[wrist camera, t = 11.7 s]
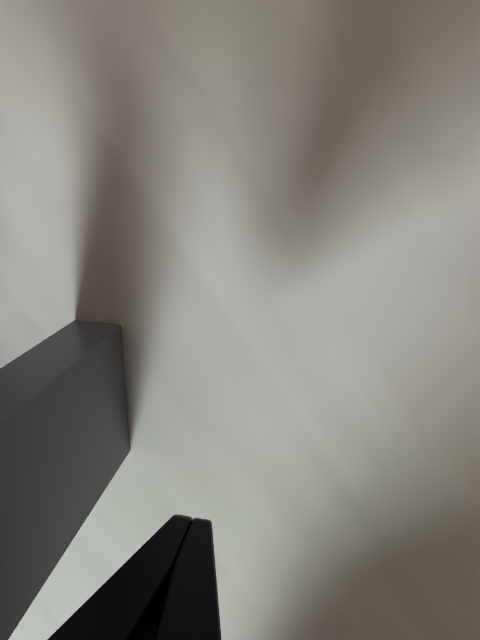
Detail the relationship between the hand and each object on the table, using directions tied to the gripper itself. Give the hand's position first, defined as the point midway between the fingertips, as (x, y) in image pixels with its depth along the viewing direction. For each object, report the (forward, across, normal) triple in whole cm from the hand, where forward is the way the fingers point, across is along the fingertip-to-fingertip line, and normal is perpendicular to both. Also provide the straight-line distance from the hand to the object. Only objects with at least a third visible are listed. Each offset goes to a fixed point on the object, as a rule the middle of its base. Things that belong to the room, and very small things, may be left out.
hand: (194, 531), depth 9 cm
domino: (+5, +5, 0) cm, 7 cm away
